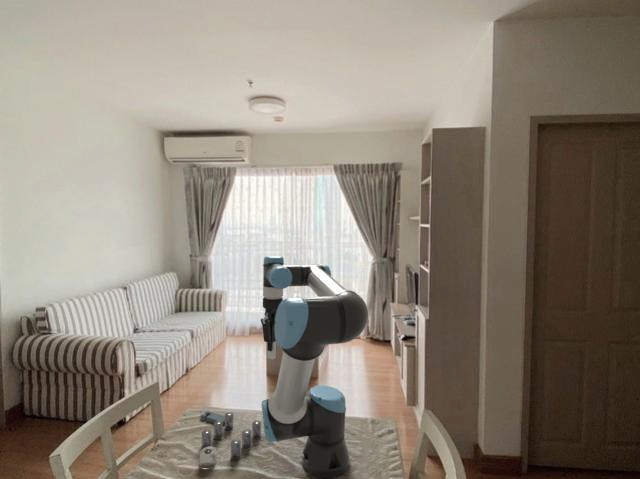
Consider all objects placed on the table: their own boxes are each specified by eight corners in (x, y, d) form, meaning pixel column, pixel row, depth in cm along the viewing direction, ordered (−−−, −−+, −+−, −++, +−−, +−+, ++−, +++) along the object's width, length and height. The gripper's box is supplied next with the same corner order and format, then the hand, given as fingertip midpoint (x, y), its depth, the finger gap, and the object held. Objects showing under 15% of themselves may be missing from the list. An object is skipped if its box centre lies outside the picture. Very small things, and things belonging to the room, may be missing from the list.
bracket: (222, 427, 130) (222, 422, 130) (200, 420, 134) (200, 415, 134) (228, 421, 134) (228, 416, 134) (207, 415, 138) (207, 410, 138)
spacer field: (262, 435, 125) (262, 421, 125) (236, 461, 112) (236, 446, 111) (228, 424, 131) (228, 411, 131) (199, 447, 118) (199, 433, 117)
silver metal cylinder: (219, 460, 112) (219, 448, 112) (209, 471, 107) (209, 458, 107) (206, 456, 114) (206, 444, 113) (196, 466, 109) (196, 454, 109)
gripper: (273, 292, 140) (271, 350, 141) (254, 299, 128) (253, 362, 129) (289, 294, 137) (288, 354, 138) (272, 301, 125) (271, 366, 126)
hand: (271, 358), depth 133 cm, fingers closed
